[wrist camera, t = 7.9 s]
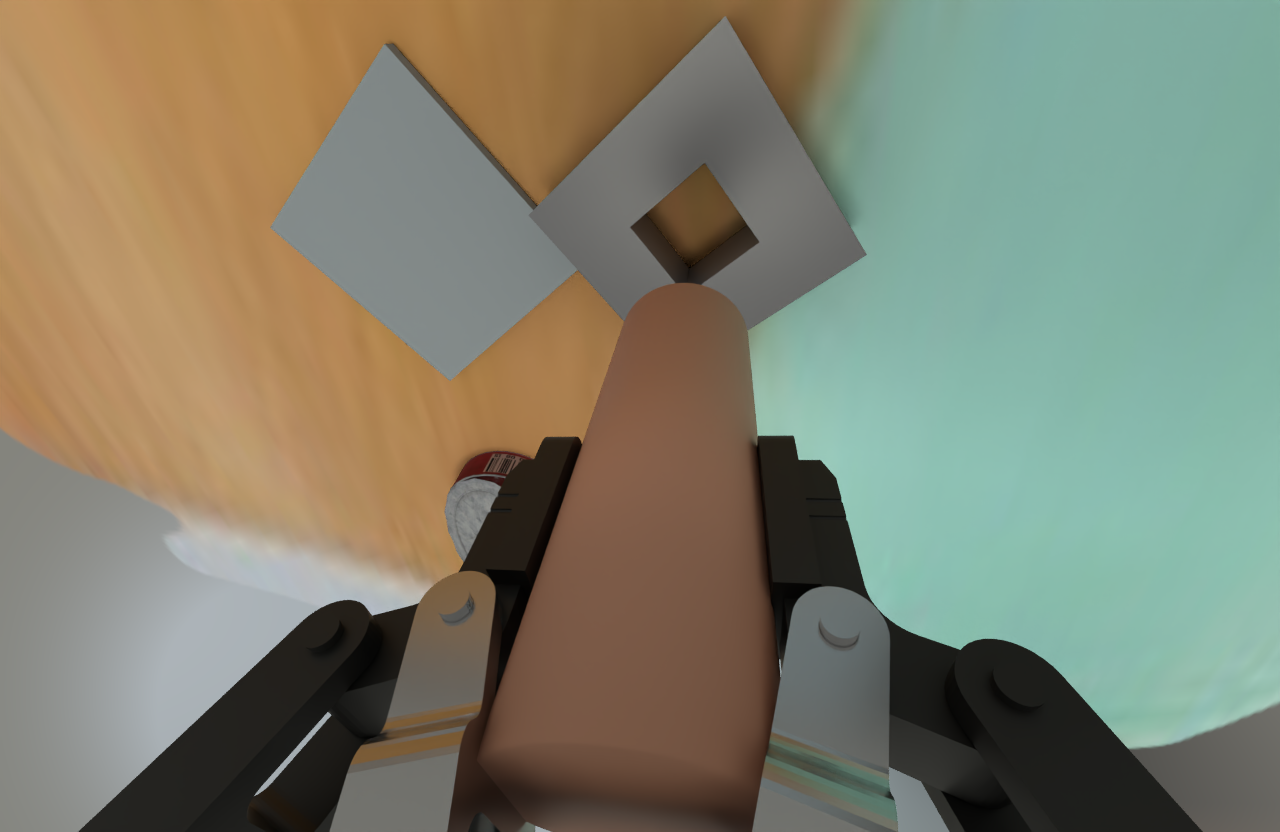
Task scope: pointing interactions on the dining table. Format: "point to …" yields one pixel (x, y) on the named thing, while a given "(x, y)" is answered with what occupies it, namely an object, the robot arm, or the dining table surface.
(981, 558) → the dining table surface
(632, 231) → the gray square hole block
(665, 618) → the plug
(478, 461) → the canned food
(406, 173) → the mat
